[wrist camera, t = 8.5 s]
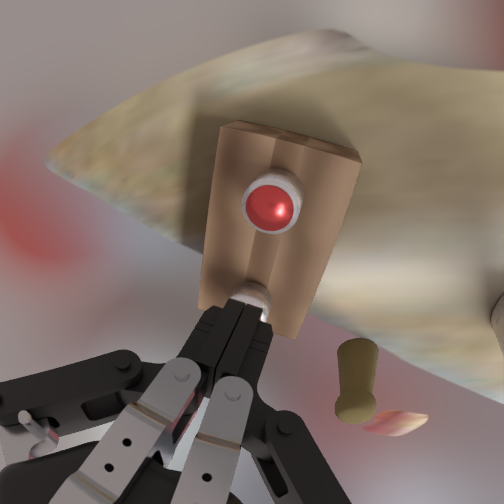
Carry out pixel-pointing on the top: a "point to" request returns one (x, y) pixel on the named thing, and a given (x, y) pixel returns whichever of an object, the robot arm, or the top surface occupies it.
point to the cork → (356, 380)
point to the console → (283, 244)
